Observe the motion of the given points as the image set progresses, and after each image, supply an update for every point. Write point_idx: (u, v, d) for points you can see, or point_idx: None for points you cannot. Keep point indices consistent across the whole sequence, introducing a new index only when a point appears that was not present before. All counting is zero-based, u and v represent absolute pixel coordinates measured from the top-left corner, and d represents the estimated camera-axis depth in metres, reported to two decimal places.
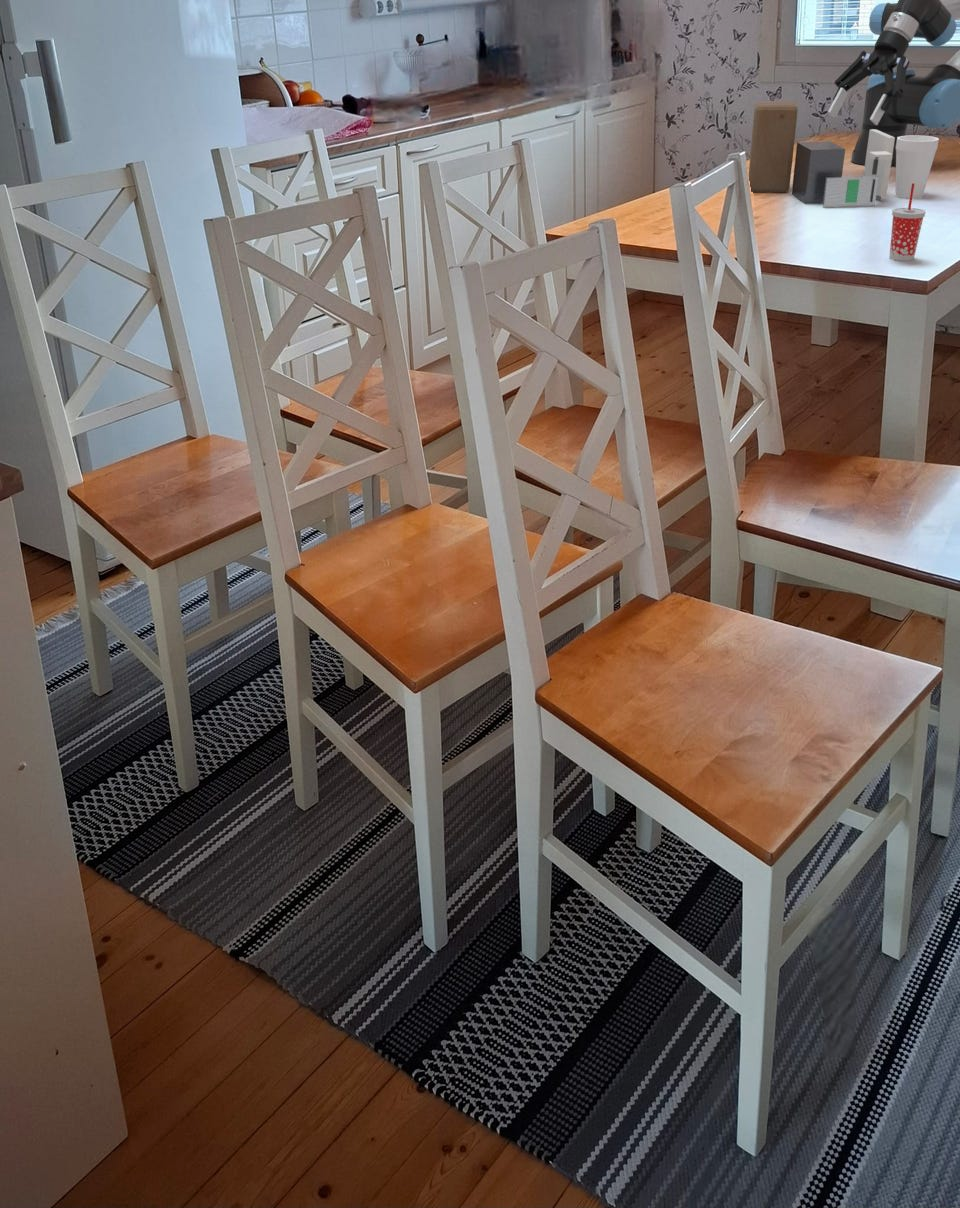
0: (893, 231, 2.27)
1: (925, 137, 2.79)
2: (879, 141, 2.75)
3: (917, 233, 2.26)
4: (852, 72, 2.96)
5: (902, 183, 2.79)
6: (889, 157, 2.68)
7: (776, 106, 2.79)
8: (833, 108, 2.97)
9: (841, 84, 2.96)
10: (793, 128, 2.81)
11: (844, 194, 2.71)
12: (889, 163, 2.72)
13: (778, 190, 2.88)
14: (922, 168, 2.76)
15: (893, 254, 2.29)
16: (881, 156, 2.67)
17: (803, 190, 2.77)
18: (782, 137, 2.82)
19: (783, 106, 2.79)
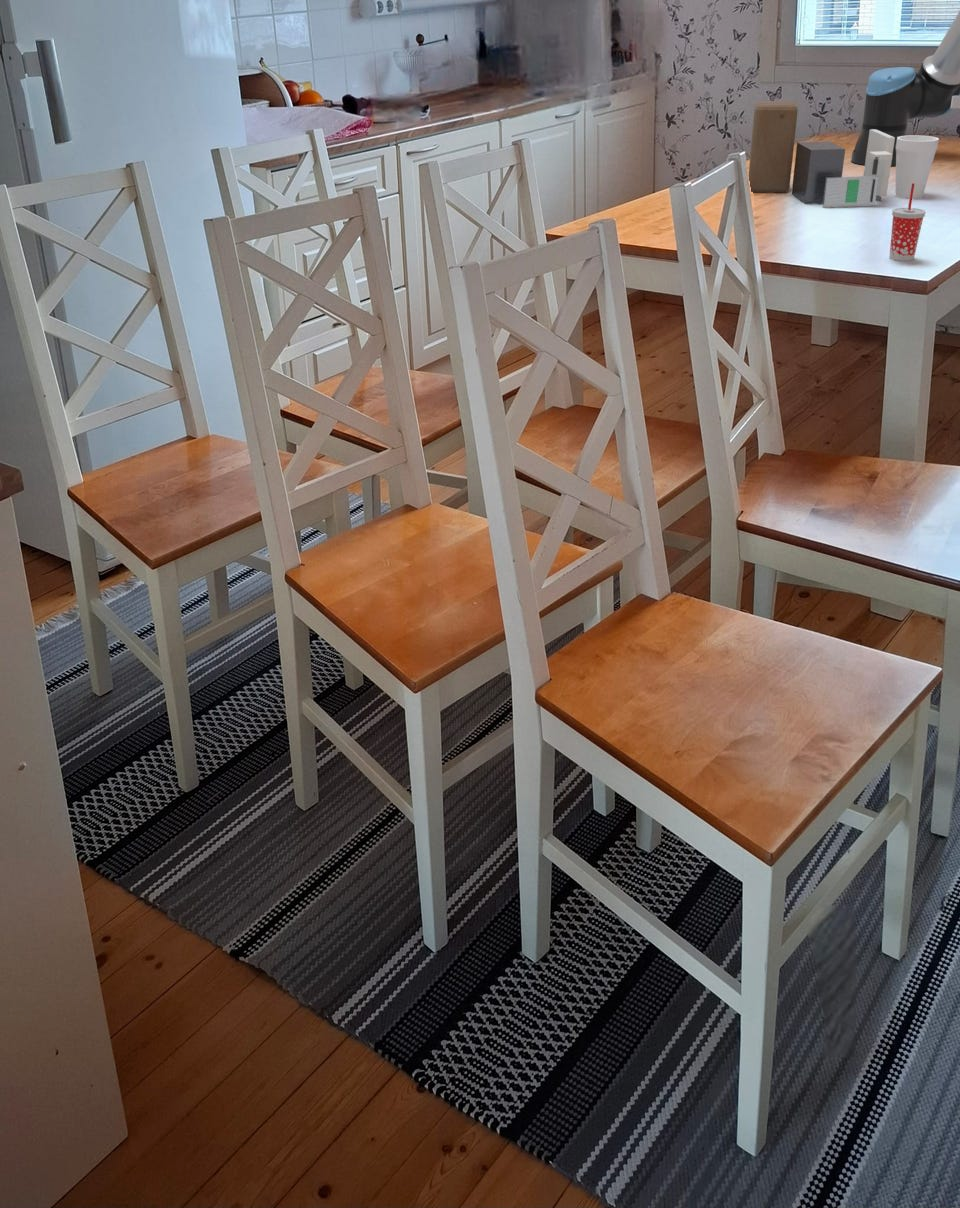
0: (893, 231, 2.27)
1: (925, 137, 2.79)
2: (879, 141, 2.75)
3: (917, 233, 2.26)
4: None
5: (902, 183, 2.79)
6: (889, 157, 2.68)
7: (776, 106, 2.79)
8: None
9: None
10: (793, 128, 2.81)
11: (844, 194, 2.71)
12: (889, 163, 2.72)
13: (778, 190, 2.88)
14: (922, 168, 2.76)
15: (893, 254, 2.29)
16: (881, 156, 2.67)
17: (803, 190, 2.77)
18: (782, 137, 2.82)
19: (783, 106, 2.79)
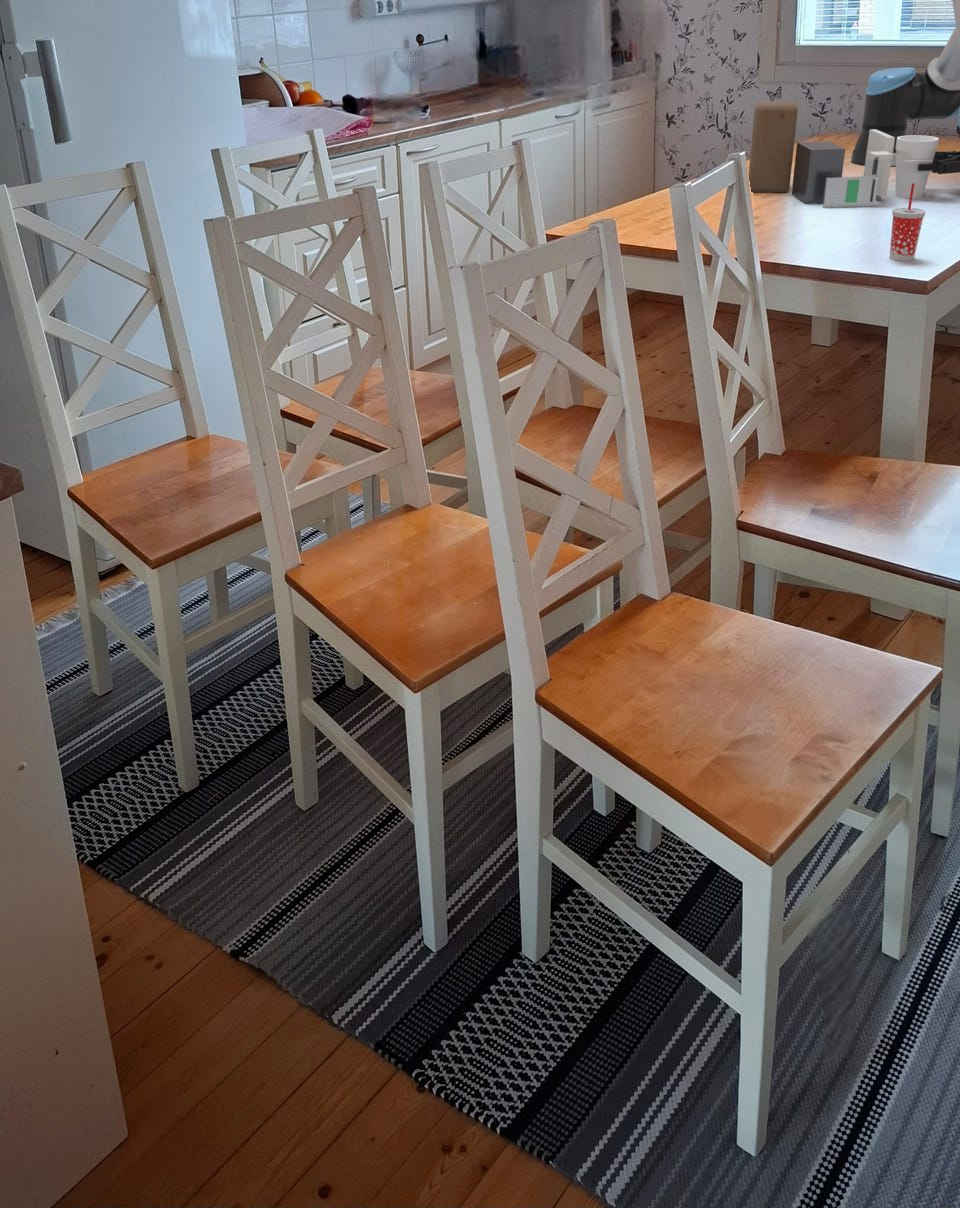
0: (893, 231, 2.27)
1: (925, 137, 2.79)
2: (879, 141, 2.75)
3: (917, 233, 2.26)
4: None
5: (902, 183, 2.79)
6: (889, 157, 2.68)
7: (776, 106, 2.79)
8: None
9: None
10: (793, 128, 2.81)
11: (844, 194, 2.71)
12: (889, 163, 2.72)
13: (778, 190, 2.88)
14: None
15: (893, 254, 2.29)
16: (881, 156, 2.67)
17: (803, 190, 2.77)
18: (782, 137, 2.82)
19: (783, 106, 2.79)
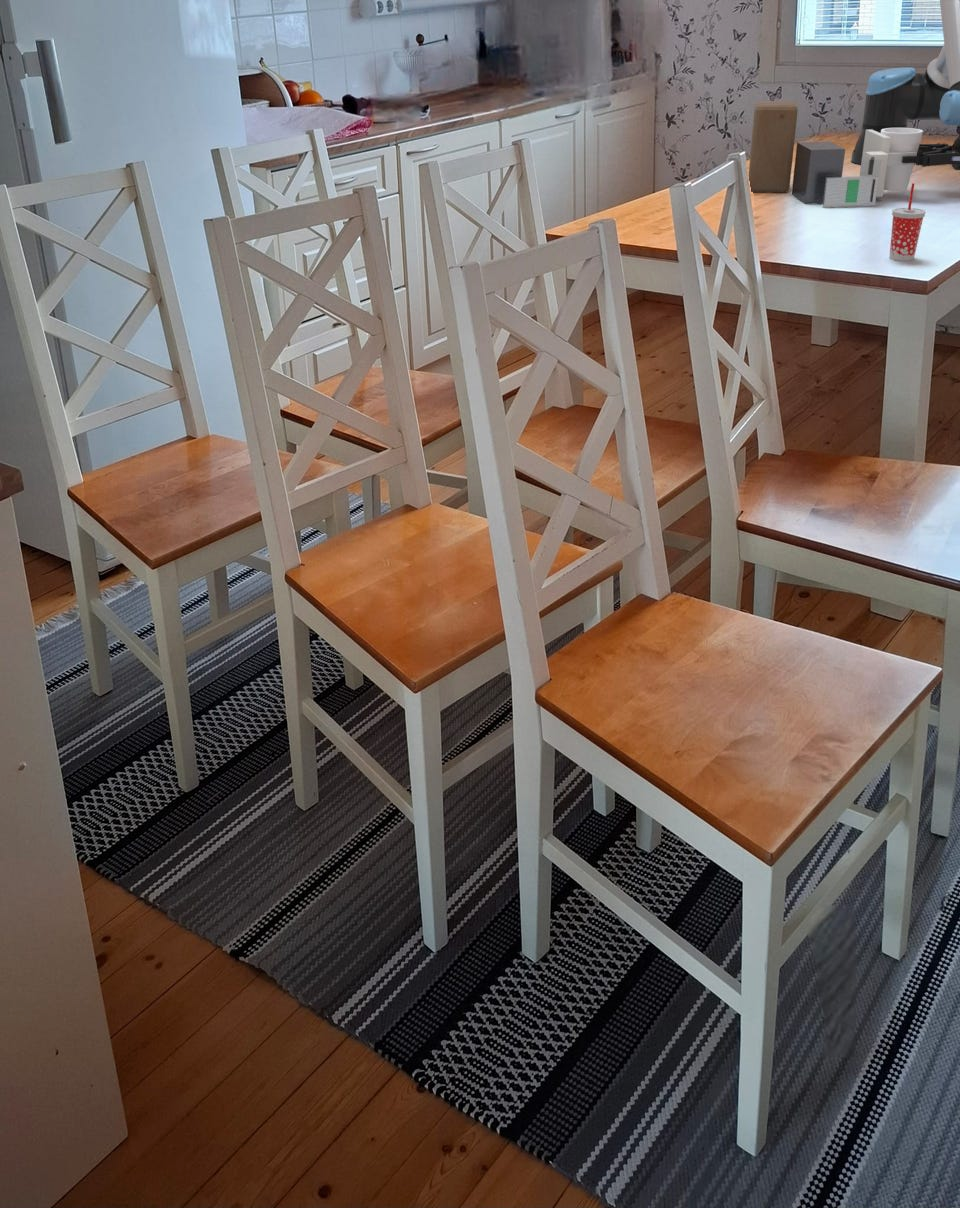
0: (893, 231, 2.27)
1: (909, 129, 2.77)
2: (875, 141, 2.75)
3: (917, 233, 2.26)
4: None
5: (886, 175, 2.77)
6: (885, 157, 2.68)
7: (776, 106, 2.79)
8: None
9: None
10: (793, 128, 2.81)
11: (844, 194, 2.71)
12: (885, 163, 2.72)
13: (778, 190, 2.88)
14: None
15: (893, 254, 2.29)
16: (877, 156, 2.67)
17: (803, 190, 2.77)
18: (782, 137, 2.82)
19: (783, 106, 2.79)
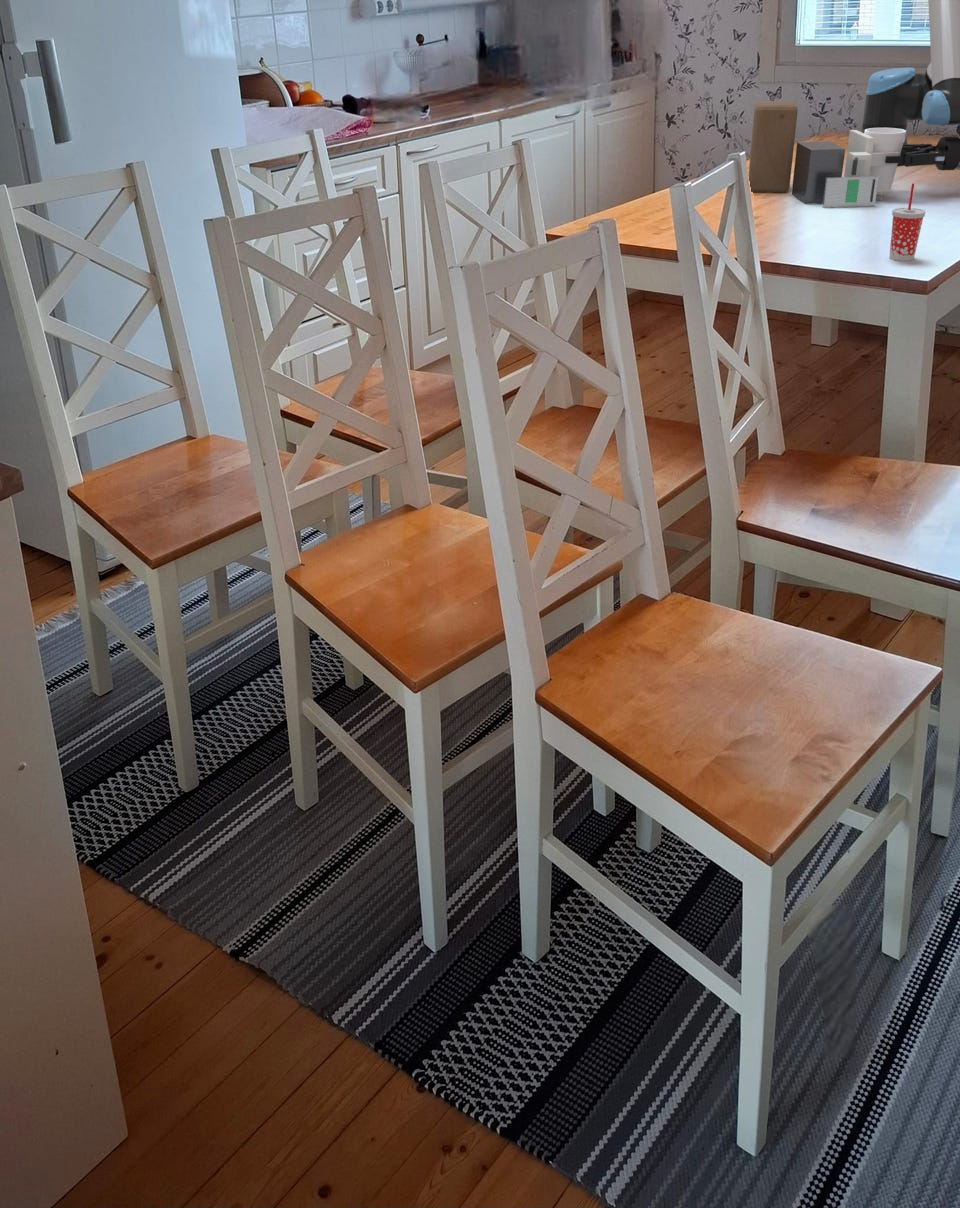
0: (893, 231, 2.27)
1: (893, 129, 2.77)
2: (859, 141, 2.75)
3: (917, 233, 2.26)
4: None
5: (870, 175, 2.78)
6: (868, 158, 2.67)
7: (776, 106, 2.79)
8: None
9: None
10: (793, 128, 2.81)
11: (844, 194, 2.71)
12: (869, 164, 2.72)
13: (778, 190, 2.88)
14: None
15: (893, 254, 2.29)
16: (860, 157, 2.67)
17: (803, 190, 2.77)
18: (782, 137, 2.82)
19: (783, 106, 2.79)
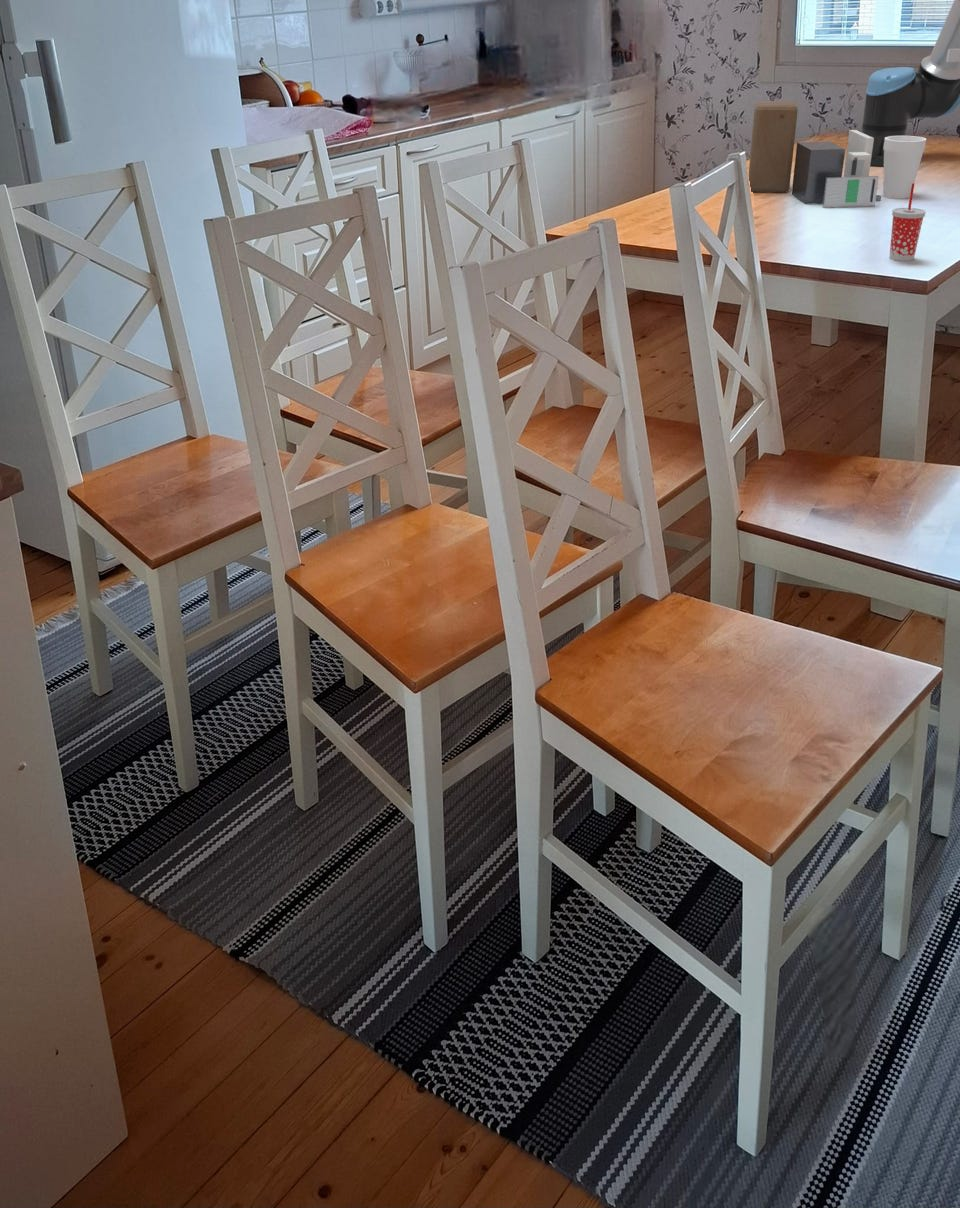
0: (893, 231, 2.27)
1: (913, 137, 2.79)
2: (858, 142, 2.75)
3: (917, 233, 2.26)
4: None
5: (890, 183, 2.79)
6: (868, 158, 2.67)
7: (776, 106, 2.79)
8: None
9: None
10: (793, 128, 2.81)
11: (844, 194, 2.71)
12: (868, 164, 2.72)
13: (778, 190, 2.88)
14: (909, 169, 2.75)
15: (893, 254, 2.29)
16: (860, 157, 2.67)
17: (803, 190, 2.77)
18: (782, 137, 2.82)
19: (783, 106, 2.79)
